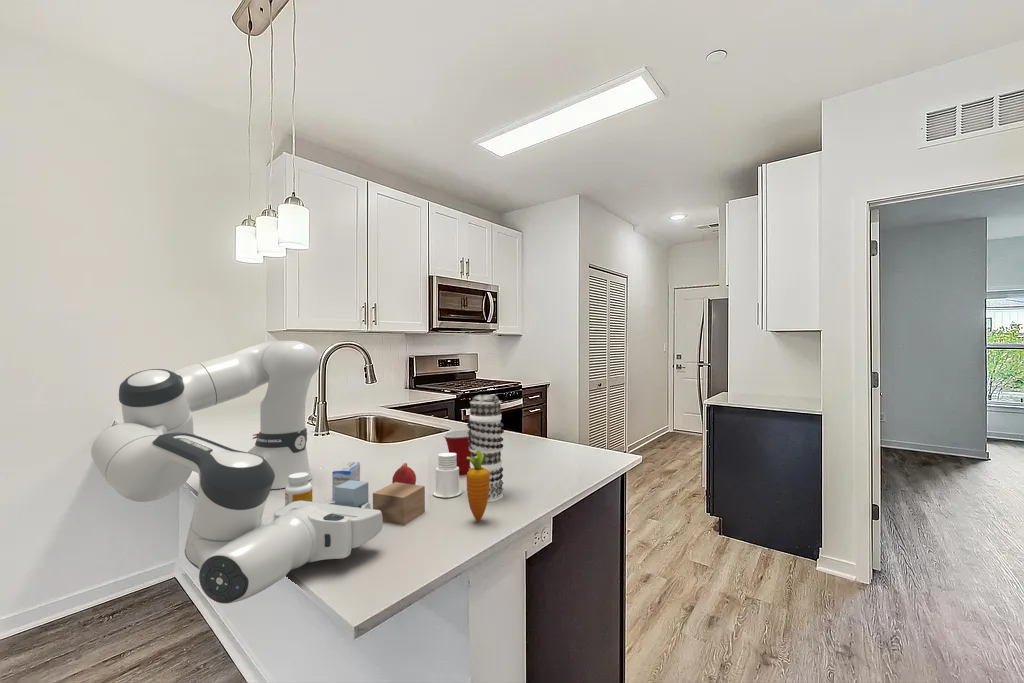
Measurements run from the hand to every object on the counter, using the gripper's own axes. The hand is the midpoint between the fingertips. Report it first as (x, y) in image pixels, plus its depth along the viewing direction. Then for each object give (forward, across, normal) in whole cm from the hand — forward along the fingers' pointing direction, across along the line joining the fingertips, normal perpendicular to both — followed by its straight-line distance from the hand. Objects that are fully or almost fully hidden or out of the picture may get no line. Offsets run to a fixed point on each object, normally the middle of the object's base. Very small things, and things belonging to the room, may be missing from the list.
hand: (355, 504), depth 90 cm
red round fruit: (+22, -2, -6) cm, 23 cm away
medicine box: (+14, -13, -6) cm, 20 cm away
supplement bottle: (+2, -16, -6) cm, 17 cm away
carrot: (+12, +22, -6) cm, 26 cm away
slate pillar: (-1, 0, -6) cm, 6 cm away
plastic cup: (+44, +4, -6) cm, 45 cm away
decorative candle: (+27, +18, -6) cm, 33 cm away
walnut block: (+10, +4, -6) cm, 12 cm away
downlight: (+26, +8, -6) cm, 28 cm away
